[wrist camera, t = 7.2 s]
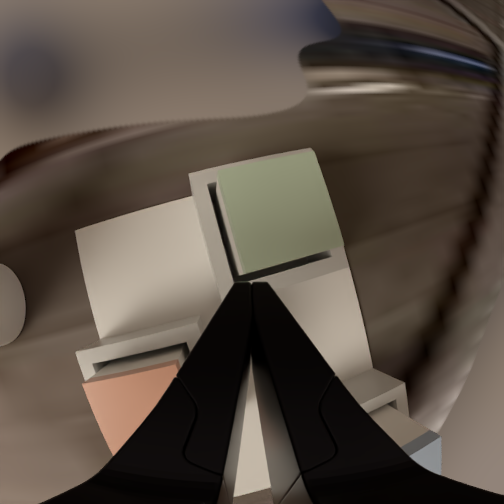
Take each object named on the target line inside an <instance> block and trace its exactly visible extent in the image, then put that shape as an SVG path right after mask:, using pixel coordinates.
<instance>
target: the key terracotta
mask: <svg viewBox="0 0 504 504" xmlns="http://www.w3.org/2000/svg"><path fill="white" fill-rule="evenodd" d="M189 353H190V351H189V348H188V345H187V342H184V343H180V344H176V345H172V346H168V347H164V348H160V349H156V350H151V351H147V352H143V353H139V354H134V355H130V356H125V357H121V358H116V359H114V360H112V361H111V362H110V363H109V364H107V365H106V366H105V367H103V368H102V369H101V370H99V371H98V372H97V373H96V374H94V375H93V376H92V377H90V378H89V379H88V380H87V381H85V382H84V383H83V384H82V385H83V388H84V390H85V393H86V395H87V398H88V401H89V403H90V405H91V408H92V410H93V413H94V415H95V417H96V420H97V422H98V424H99V427H100V429H101V431H102V433H103V435H104V438H105V440H106V442H107V444H108V446H109V448H110V450H111V452H112V454H113V456H114V455H115V454H116V453H117V451H118V450H119V449H120V448H121V447H122V446H123V444H124V443H125V442H126V441H127V440H128V439H129V437H130V436H131V435H132V434H133V433H134V432H135V430H136V429H137V428H138V427H139V426H140V425H141V423H142V422H143V421H144V420H145V418H146V417H147V416H148V415H149V413H150V412H151V411H152V410H153V408H154V407H155V406H156V404H157V403H158V401H159V400H160V398H161V397H162V395H163V394H164V392H165V391H166V390H167V388H168V386H169V385H170V383H171V382H172V380H173V378H174V377H176V374H177V372H178V371H179V369H180V368H181V366H182V364H183V363H184V361H185V360H186V358H187V357H188V355H189Z"/></svg>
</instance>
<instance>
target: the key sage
mask: <svg viewBox="0 0 504 504" xmlns="http://www.w3.org/2000/svg"><path fill="white" fill-rule="evenodd" d="M215 207H216V211H217V214H218V218H219V222H220V226H221V229H222V233H223V237H224V240H225V244H226V248H227V251H228V255H229V258H230V262H231V266H232V269H233V273H234V276H235V277H237V276H240V275H244V274H247V273H251V272H254V271H258V270H262V269H265V268H269V267H272V266H276V265H279V264H283V263H286V262H290V261H293V260H297V259H300V258H304V257H307V256H310V255H314V254H317V253H320V252H324V251H327V250H330V249H333V248H337V247H340V246H343V245H344V242H343V238H342V235H341V232H340V228H339V225H338V222H337V218H336V215H335V212H334V209H333V206H332V202H331V199H330V196H329V193H328V190H327V187H326V184H325V181H324V178H323V175H322V172H321V169H320V166H319V164H318V161H317V158H316V155H315V152H314V151H310V152H305V153H299V154H294V155H288V156H283V157H278V158H273V159H268V160H263V161H258V162H253V163H249V164H244V165H240V166H235V167H231V168H226V169H222V170H218V172H217V185H216V198H215Z"/></svg>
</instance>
